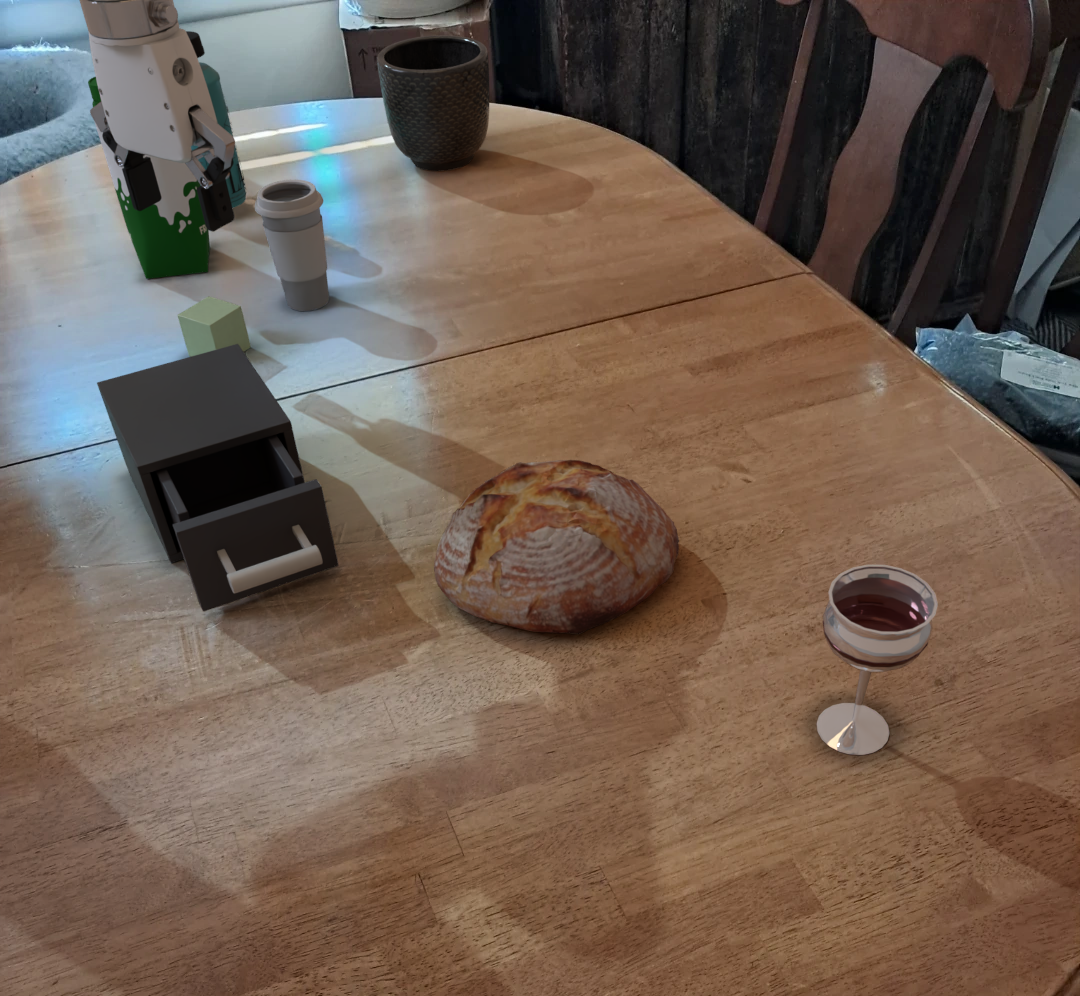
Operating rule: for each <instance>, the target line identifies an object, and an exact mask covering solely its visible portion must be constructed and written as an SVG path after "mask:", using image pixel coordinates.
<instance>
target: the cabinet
mask: <svg viewBox="0 0 1080 996" xmlns="http://www.w3.org/2000/svg"><path fill="white" fill-rule="evenodd" d="M96 385H97V388H98V391H99V394H100V396H101V399H102V402H103V405H104V406H105V410H106V413H107V416H108V419H109V421H110V424H111V427H112V429H113V432H114V435H115V438H116V440H117V443H118V446H119V449H120V452H121V455H122V457H123V461H124V462H125V463H124V464H125V466H126V468H127V471H128V474H129V477H130V479H131V481H132V483H133V485H134V487H135V490H136V492H137V495H138V496H139V498H140V501H141V503H142V505H143V506H144V509H145V511H146V513H147V516H148V518H149V520H150V521H151V524H152V526H153V528H154V530H155V533H156V535H157V538H158V539H159V541H160V543H161V546H162V547H163V550H164V551H165V554H166V556H167V558H168V560H169V562H170V563H171V564H173V563H177V562H179V561H182V560H184V557H183V554H182V551H181V549H180V546H179V543H178V540H177V537H176V534H175V531H174V529H173V527H172V525H171V523H170V521H169V519H168V517H167V514H166V511H165V508H164V505H163V502H162V499H161V496H160V494H159V491H158V488H157V485H156V482H155V479H154V476H153V473H152V472H153V471H156V470H160V469H163V468H166V467H170V466H173V465H176V464H179V463H183V462H186V461H189V460H193V459H196V458H199V457H203V456H206V455H209V454H213V453H216V452H219V451H223V450H226V449H229V448H233V447H236V446H239V445H242V444H246V443H249V442H252V441H256V440H259V439H262V438H266V437H269V436H272V435H277V437H278V438H279V440H280V441H281V443H282V444H283V446H284V447H285V449H286V451H287V452H288V454H289V455H290V457H291V458H292V460H293V461H294V463H295V464H296V466H297V467H298V469H299V470H300V472H301V474H302V475H303V479H304V480H305V477H304V473H303V469H302V464H301V459H300V456H299V452H298V447H297V442H296V438H295V434H294V430H293V425H292V421H291V420H290V417H288V415H287V413H286V412H285V410H284V409H283V408H282V406H281V405H280V403H279V402H278V400H277V399H276V398H275V396H274V395H273V392H271V390H270V389H269V387H268V385H267V384H266V382H264V380H263V378H262V377H261V375H260V374H259V372H258V370H257V369H256V368H255V367H254V365H253V364H252V362H251V360H250V359H249V358H248V355H246V353H245V351H244V352H243V350H242V349H241V348H240V346H239V345H238V344H235V345H231V346H228V347H224V348H221V349H217V350H213V351H210V352H206V353H202V354H199V355H195V356H191V357H190V356H188V357H184V358H181V359H178V360H174V361H170V362H166V363H163V364H159V365H156V366H152V367H147V368H145V369H141V370H137V371H134V372H130V373H126V374H123V375H120V376H116V377H112V378H109V379H105V380H100V381H97V382H96ZM305 482H306V481H304V483H305Z"/></svg>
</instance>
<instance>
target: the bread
mask: <svg viewBox="0 0 1080 996" xmlns="http://www.w3.org/2000/svg"><path fill="white" fill-rule="evenodd" d="M679 543H680V538H679V535H678V529H677V526H676V525H675V521H674V520H673V519H672V518H671V517H670V516H669V515H668V514H667V512H666V511H665V510H664V508H663V507H662V506H661V505H660V504H659V503H658V502H656V500H655V499H654V498H652V497H651V496H650V494H648V492H647V491H646V490H645V489H644V488H643V487H641V486H640V485H639V483H638V482H636V481H635V480H634V479H629V478H627V477H624V476H621V475H618V474H615V473H614V472H613V471H611V470H610V469H607V468H604V467H602V466H601V465H598V464H594V463H591V462H588V461H584V460H579V459H564V460H563V459H556V460H548V461H535V462H534V461H531V462H523V461H517V462H516V463H515V464H513V465H510V466H509V467H507V468H506V469H505V470H503V471H500V473H499V474H497V475H494V476H492V477H491V478H489V479H486V480H484V482H483V483H482V484H480V485H479V486H477V487H476V488H475V489H473V490H471V492H470V493H469V494H468V495H467V497H466V498H465V499H464V500H463V502H462V504H461V505H460V507H459V508H457V509H456V510H455V511H454V512H452V514H451V518H450V520H449V522H448V523H447V526H446V528H445V529H444V531H443V533H442V535H441V537H440V539H439V542H438V545H437V548H436V552H435V556H434V557H435V558H434V562H433V570H434V578H435V582H436V584H437V586H438V588H439V589H440V590H441V592H442V593H443V594H444V595H445V596H446V597H447V598H448V600H449V601H450V602H451V603H452V604H453V605H454V606H455V607H456V608H458V609H460V610H462V611H463V612H466V613H468V614H470V615H472V616H474V617H476V618H478V619H481V620H485V621H488V622H491V623H494V624H500V625H504V626H508V627H512V628H516V629H520V630H525V631H527V632H532V633H534V632H535V633H548V634H549V633H551V634H569V635H581V634H583V633H585V632H587V631H589V630H591V629H593V628H595V627H598V626H600V625H601V626H602V625H603V624H607V623H609V622H611V621H612V620H615V619H617V618H618V617H620V616H622V615H624V614H626V613H627V612H630V610H631V609H633V608H634V607H637V605H640V604H641V603H643V602H644V601H645V600H646V599H647V598H649V597H650V596H651V595H653V594H654V593H655V591H656V590H657V588H658V587H660V586H661V585H664V584H665V583H666V582H667V581H668V580H669V579H670V577H671V576H672V575H673V573H674V571H675V562H676V559H677V558H678V556H679V552H680V551H679V548H680V544H679Z"/></svg>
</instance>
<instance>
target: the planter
mask: <svg viewBox="0 0 1080 996" xmlns="http://www.w3.org/2000/svg"><path fill="white" fill-rule="evenodd" d="M376 59H377V60H376V62H377V63H376V65H377V71H378V72H377V73H378V77H379V84H380V91H381V97H382V100H383V101H382V102H383V107H384V111H385V117H386V121H387V124H388V128H389V131H390V135H391V137H392V140H393V142H394V144H395V146H396V147H397V149H398V150H399V151H400V153H402V154H403V155H404V156H406V157H407V158H409V159H410V161H411V162H412V163H413V165H414V166H416V167H417V168H419V169H421V170H424V171H430V172H448V171H453V170H457V169H460V168H462V167H465V166H467V165H468V164H469V163H470V162H471V161H472V160H473V158H474V156H475V153H477V152H478V151H479V150H480V149H481V147H482V146H483V144H484V142H485V140H486V138H487V133H488V129H489V123H490V122H489V121H490V63H489V52H488V49H487V46H486V45H485V44H483V43H482V42H481V41H479V40H477V39H474V38H470V37H466V36H460V35H449V34H448V35H447V34H446V35H445V34H442V35H440V34H438V35H437V34H436V35H425V36H416V37H412V38H407V39H403V40H400V41H397V42H393V43H392V44H390V45H387V46H385V47H384V48H383V49H381V51H380V52H379V53H378V54H377V57H376Z"/></svg>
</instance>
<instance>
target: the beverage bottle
mask: <svg viewBox="0 0 1080 996" xmlns="http://www.w3.org/2000/svg"><path fill="white" fill-rule="evenodd" d="M185 31H186V33H187V35H188V37H189V39H190V42H191V44H192V46H193V49H194V51H195V53H196V56H197V58H198V59H199V58H201V57H203V56H204V55H205V53H206V52H205V47H204V46H203V43H202V39H201V37H200V34H199V33H198V32H196V31H193V30H192V31H191V30H185ZM199 64H200V67H201V69H202V72H203V75H204V78H205V81H206V84H207V88H208V91H209V94H210V98H211V101H212V105H213V108H214V112H215V115H216V119H217V123H218V124H219V125H220V126H221V127H222V128H224V129H225V130H226V131H227V132H228V133H230V134H231V135H232V136H233V137H234V135H233V134H234V131H233V128H232V126H233V124H232V122H231V120H230V115H229V114H230V111H229V107H228V105H227V103H226V96H225V95H224V92H223V87H222V84H221V83H222V82H221V77H220V74H219V72H218V71H217V70H216V69H215V68H213V67H212V66H211V65H209V64H207V63H205V62H200V61H199ZM196 148H198V146H194V145H193V146H191V150H194V149H196ZM237 148H238V146H237V145H235V148H234V155H233V161H234V164H233V166H232V168H231V170H230V171H229V173H230V176H229V178H227V179H226V183H227V187H228V191H229V196H230V200H231V204H232V208H233V209H234V208H237V207H239V206H241V205H243V204H244V203H245V202H246V199H247V191H248V189H247V187H246V182H245V177H244V172H243V171H242V168H243V167H242V166H241V165H242V164H241V159H240V157H239V156H238V150H237ZM198 160H199V162H200V163H201V165H202V166H203V167H204V169H205V170H206V169H207V167H208V165H209V163H208V162H207V161H206V159H205V158H204V157H202V158H200V159H198ZM200 186H201V184H200Z"/></svg>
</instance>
